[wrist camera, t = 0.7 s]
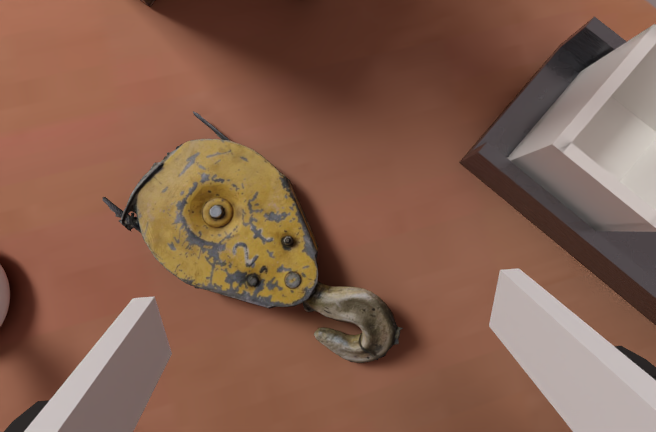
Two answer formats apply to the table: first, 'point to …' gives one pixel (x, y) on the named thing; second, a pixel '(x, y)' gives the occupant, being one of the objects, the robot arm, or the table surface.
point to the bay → (538, 204)
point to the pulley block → (247, 240)
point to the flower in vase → (4, 295)
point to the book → (148, 2)
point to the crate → (602, 141)
